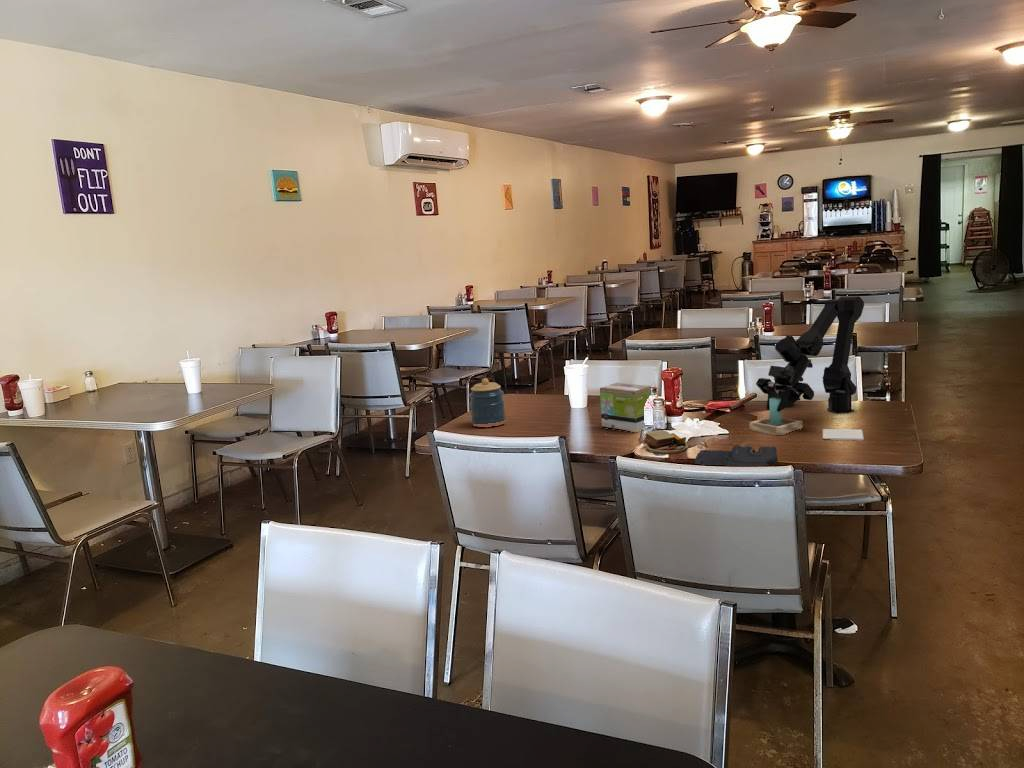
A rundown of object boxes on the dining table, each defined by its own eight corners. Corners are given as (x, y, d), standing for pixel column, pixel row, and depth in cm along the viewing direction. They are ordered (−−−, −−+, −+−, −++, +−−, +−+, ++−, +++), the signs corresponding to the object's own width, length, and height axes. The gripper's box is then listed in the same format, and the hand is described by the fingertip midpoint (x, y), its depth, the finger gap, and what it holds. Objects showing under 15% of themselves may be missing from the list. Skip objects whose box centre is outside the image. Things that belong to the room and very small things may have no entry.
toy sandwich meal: (657, 457, 221) (656, 441, 220) (638, 446, 234) (637, 432, 233) (695, 451, 224) (695, 435, 223) (674, 441, 237) (674, 426, 236)
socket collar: (772, 423, 248) (772, 416, 248) (802, 428, 239) (802, 421, 238) (749, 430, 242) (749, 422, 242) (779, 435, 233) (779, 427, 232)
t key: (770, 426, 244) (769, 396, 243) (788, 430, 238) (788, 399, 237) (763, 428, 242) (762, 398, 241) (781, 432, 236) (780, 401, 235)
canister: (484, 430, 272) (480, 382, 269) (465, 425, 282) (460, 379, 279) (513, 423, 279) (509, 376, 276) (493, 419, 290) (489, 374, 287)
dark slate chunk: (699, 456, 219) (698, 440, 219) (778, 458, 211) (778, 441, 211) (691, 471, 205) (691, 454, 205) (777, 474, 197) (776, 456, 197)
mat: (822, 430, 234) (822, 429, 234) (861, 431, 230) (861, 429, 230) (822, 439, 224) (822, 438, 224) (863, 440, 220) (863, 438, 220)
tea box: (601, 429, 260) (598, 387, 258) (618, 422, 267) (616, 381, 265) (636, 433, 250) (634, 390, 247) (654, 427, 256) (652, 384, 254)
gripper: (758, 353, 246) (736, 392, 242) (808, 357, 231) (785, 399, 227) (775, 373, 252) (753, 411, 248) (824, 379, 236) (802, 419, 232)
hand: (772, 410), depth 239 cm, fingers closed on t key, 4 cm apart
